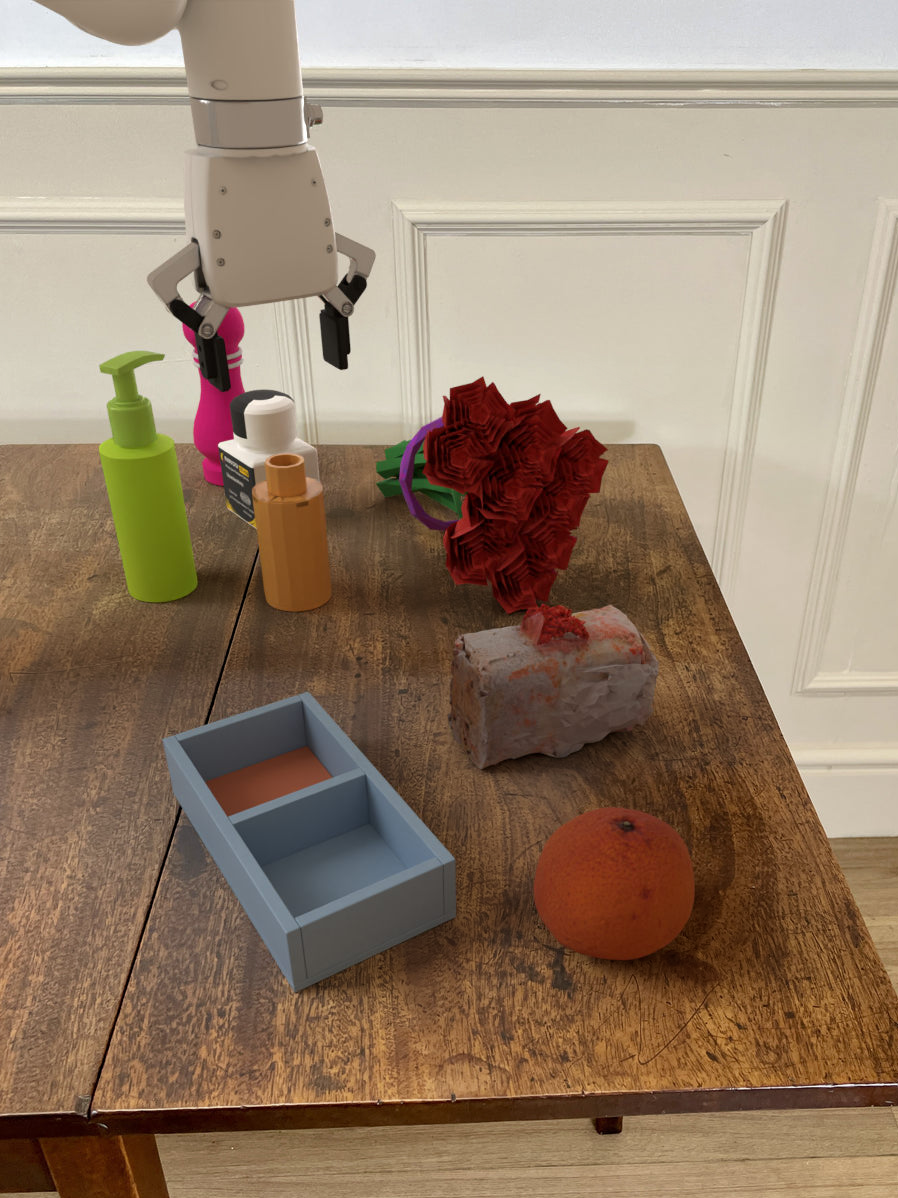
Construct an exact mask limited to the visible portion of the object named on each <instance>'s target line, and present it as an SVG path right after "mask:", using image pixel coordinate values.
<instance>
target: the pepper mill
mask: <svg viewBox="0 0 898 1198" xmlns="http://www.w3.org/2000/svg"><path fill="white" fill-rule="evenodd" d="M196 301H197V300H195V301H193V302H191V303H190V304H188V305H189V306H190V307H191V308H193V306H194V305H195V303H196ZM181 325H182V326H181V328H182V332H183V336H184V338H185V340H186V341H187V342H188V343H189V344H190V345H191V346H192V347H193V349H192V350H191V352H190V353H191V356H192V359H193V360H192V365H193V366H194V367H196V368H197V370H198V375H199V383H200V384H199V385H200V394H199V402H198V406H197V409H196V412H195V413H196V414H195V417H194V420H193V429H192V435H193V444H194V446H195V449H196V450H198V452H199V453H200V454H201V455H203V457H204V459H202V462H201V465H202V472H203V477H204V479H205V481H206V482H208V483H210V484H211V485H215V486H218V487H219V486H220V487H224V484H223V477H222V470H221V463H220V456H219V449H218V444H219V443H220V442H224V441H228V440H233V439H234V434H233V427H232V419H231V412H230V403H231V401H232V400H233V399H234V398H235V397H236V396H238V395H241V394H243V393H245V392H246V390H245V387H244V383H243V381H242V372H241V365H243V363H244V361H245V359H244V357H243V348H242V347H241V346H240V343H241V341H242V340H243V338H244V337H245V331H246V330H245V328H246V327H245V323H244V318H243V315H242V312H241V311H240V310H239V309H238V307H234V308H232V307H230V309H229V311H228V312H227V314H226V316H225V318H224V319H223V321H222V323H221V325H220V326H219V328H218V330H217V332H218V335H219V336H221V337H222V338H223V339H224V341H225V347H226V354H227V361H228V368H229V375H230V382H231V389H229V391H226V392H221V391H219V390H218V389H217V388H216V387H214V386H213V385H212V384H210V383H209V381H208V379H207V380H206V379H205V378H204V377H203V376H202V374H201V371H200V365H199V359H198V353H197V347H196V340H195V334H194V331H193V330H191V329H190V328H189V327H187V326H186V325H185V324H183V323H182V322H181Z"/></svg>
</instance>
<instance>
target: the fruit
mask: <svg viewBox="0 0 898 1198" xmlns="http://www.w3.org/2000/svg"><path fill="white" fill-rule="evenodd" d="M695 886H696V884H695V875H694V867H693V862H692V858H691V856H690V852H689V849H688V847H687V845H686V843H685V841H684V839H683V838H682V836H681V835H680V834H679V833H678V832H677V830H675V829H674V828H673V827H672V826H671V825H670V824H669V823H668V822H666V821H664V820H662V819H661V818H658V817H656V816H654V815H652V814H649V813H647V812H645V811H642V810H638V809H631V808H623V807H616V806H607V807H599V808H597V809H593V810H589V811H587V812H583V813H581V814H579V815H576V816H575V817H574V818H572V819H571V820H568V821H567V822H565V823H564V824H562V825H561V826H560V827H558V828H557V829H556V830H555V831H554V832H553V833H552V834H551V835H550V837H549V838H548V840H547V841H546V842H545V843H544V846H543V849H542V850H541V853H540V855H539V858H538V862H537V866H536V869H535V876H534V881H533V891H532V892H533V898H534V905H535V909H536V911H537V913H538V916H539V918H540V919H541V922H542V923H543V924H544V925H545V927H546V928H547V929H548V931H549V933H551V935H552V936H553V938H554V939H555V940H556V941H557V942H558V943H559V944H560V945H561V946H563V947H565V948H567V949H569V950H571V951H574V952H576V953H578V954H579V955H580V954H581V955H584V956H588V957H592V958H595V959H603V960H610V961H611V960H614V961H615V960H616V961H631V960H637V959H640V958H644V957H646V956H649V955H652V954H654V953H656V952H659V951H660V950H661V949H663V948H665V947H667V946H668V945H670V944H671V943H672V942H673V941H674V940H675V939H676V938H677V937H678V936H679V934H680V933H681V932H682V930H683V929H684V928H685V926H686V924H687V922H688V920H689V919H690V917H691V914H692V912H693V907H694V902H695V897H696V892H695V891H696V887H695Z"/></svg>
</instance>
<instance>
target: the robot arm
mask: <svg viewBox="0 0 898 1198" xmlns="http://www.w3.org/2000/svg"><path fill="white" fill-rule="evenodd" d="M32 1H33V2H35V3H36V4H38V5H40V6H43V7H44V8H46V9H48V10H49V11H53V12H54V13H56V14H57V15H59V16H61V17H63V18H64V19H65V20H67V22H69V23H70V24H72V26H74V27H76V28H77V29H79V30H80V31H82V32H83V33H85V34H88V35H90V36H92V37H96V38H97V39H101V40H104V41H107V42H109V43H112V44H116V45H121V46H125V47H126V46H127V47H140V46H146V45H149V44H153V43H155V42H157V41H160V40H161V39H163V38H164V37H166V36H168V34H169V33H170V32H172V31H178V33H179V36H180V41H181V49H182V55H183V56H182V57H183V62H184V63H183V64H184V70H185V77H186V82H187V83H186V84H187V90H188V96H189V103H190V110H191V111H190V112H191V117H192V125H193V131H194V138H195V146H196V148H193V149H187V150H185V151H184V157H183V158H184V159H183V208H184V225H185V241H186V246H185V247H183V248H181V250H179V251H178V252H176V253H175V254H174V255H172V256H171V257H169V259H167V260H166V261H165V262H163V263H161V264H160V265H159V266H158V267H156V268H154V269H153V270H152V271H151V272H150V273H148V275H147V277H146V282H147V285H148V286H149V287H150V289H151V290H152V291H153V292H154V294H155V295H156V297H157V298H158V300H159V301H160V302H161V304H162V305H163V306H164V308H165V310H166V312H168V313H169V314H171V315H172V316H173V317H174V318H176V319H177V320H178V321H180V322H181V324H182V323H183V324H185V325H186V326H187V327H189V328H190V329H191V330H193V331H194V334H195V340H196V347H197V353H198V359H199V365H200V371H201V374H202V376H203V377H204V378H205V379H206V380H207V379H208V381H209V383H210V384H212V385H213V386H214V387H216V388H217V389H218V390H219V391H221V392H226V391H229V389H231V382H230V375H229V368H228V361H227V354H226V347H225V341H224V339H223V338H222V337H221V336H219V335H218V332H217V330H218V328H219V326H220V325H221V323H222V321H223V319H224V318H225V316H226V314H227V312H228V311H229V309H230V307H232V308H234V307H236V308H244V307H252V306H259V305H266V304H272V303H280V302H287V301H295V300H300V299H307V298H313V297H317V299H318V300H319V301H320V302H321V303H322V304H323V305H324V306H323V307H324V308H323V309H320V312H319V314H318V319H319V328H320V338H321V339H320V340H321V351H322V358H323V361H324V362H326V363H328V364H329V365H331V366H333V367H335V369H337V370H340V371H346V370H348V369H349V359H348V358H349V357H348V355H350V354H351V351H352V349H351V335H350V321H349V317H351V316H352V315H353V314H354V312H355V305H356V304H357V303H358V301H359V299H360V298H361V296H362V295H363V293H364V292H365V291H366V289H367V287H368V281H367V280H368V279H369V277H370V275H371V272H372V268H373V266H374V264H375V260H376V257H377V255H376V252H375V250H374V249H372V248H370V247H368V246H366V245H363V244H361V243H360V242H357V241H355V240H353V239H351V238H349V237H347V236H344V235H342V234H340V233H338V232H336V231H335V225H334V218H333V212H332V207H331V201H330V197H329V192H328V188H327V183H326V179H325V175H324V172H323V168H322V164H321V160H320V157H319V153H318V151H317V148H316V147H315V146H313V145H311V144H308V142H309V141H308V140H310V139H311V136H310V129H312V128H313V127H316V126H317V127H319V126H322V125H323V123H324V113H323V109H322V107H321V105H320V104H318V103H317V104H312V103H310V102H307V101H308V100H307V96H305V95H304V87H303V76H302V75H303V74H302V64H301V63H302V62H301V54H300V42H299V31H298V21H297V9H296V0H32ZM338 253H339V254H341V255H343V256H345V257H347V258H348V259H349V266H348V272H346V273H345V275H344V276H343V278H342V279H341V280H340V282H339V283H338V281H339V258H338ZM188 276H190V279H191V283H192V287H193V288H194V290H195V291H196V292H197V293H198V294H199V296H198V297H197V299H196V300H195V301H196V303H195V305H194V306H193V308H191V307H190V306H189V305H190V304H188V303H187V302H185V301H184V299H183V297H182V296H181V294H180V293H179V291H178V284H179V283H181V281H182V280H184V279H185V278H186V277H188Z"/></svg>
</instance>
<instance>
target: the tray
mask: <svg viewBox="0 0 898 1198" xmlns="http://www.w3.org/2000/svg"><path fill="white" fill-rule="evenodd" d="M161 741H162V744H163V749H164V755H165V758H166V759H165V760H166V765H167V768H168V773H169V778H170V785H171V786H172V792H173V796H174V797H175V799H176V800H177V802H178V804H179V805H180V807H181V809H182V810H183V812H184V814H185V815H186V817H187V818H188V819H189V822H190V823H191V825H192V826H193V828H194V830H195V831H196V833H197V835H198V836H199V838H200V840H201V841H202V843H203V845H204V846H205V848H206V850H207V851H208V853H209V854H210V856H211V858H212V859H213V861H214V863H215V864H216V866H217V868H218V870H219V871H220V873H221V874H222V876H223V877H224V879H225V881H226V882H227V884H228V886H229V888H230V889H231V891H232V893H233V894H234V895H235V897H236V899H237V901H238V902H239V904H240V905H241V907H242V909H243V910H244V912H245V913H246V915H247V917H248V919H249V920H250V922H251V923H252V926H253V927H254V928H255V930H256V932H257V933H258V935H259V937H260V938H261V940H262V942H263V943H264V945H265V946H266V948H267V951H269V953H270V955H271V956H272V958H273V960H274V961H275V963H276V965H277V966H278V968H279V969H280V971H281V973H282V974H283V976H284V978H285V979H286V980H287V983H288V985H289V986H290V988H291V989H292V991H293V993H297V992H300V991H301V990H304V989H306V988H308V987H310V986H312V985H314V984H317V983H319V982H321V981H323V980H325V979H327V978H329V977H332V976H334V975H336V974H338V973H341V972H342V971H345V970H346V969H348V968H349V969H350V968H351V967H353V966H355V965H357V964H359V963H362V962H363V961H366V960H367V959H370V958H372V957H375V956H376V955H378V954H380V953H382V952H385V951H387V950H389V949H391V948H393V947H395V946H397V945H400V944H402V943H404V942H406V941H408V940H410V939H413V938H414V937H416V936H419V935H421V934H423V933H425V932H427V931H429V930H432V929H433V928H436V927H439V925H442V924H444V923H446V922H448V921H451V920H452V919H455V918H457V880H456V879H457V877H456V873H457V872H456V858H455V857H454V856H453V855H452V853H451V852H450V851H449V850H448V849H447V848H446V847H445V845H444V844H443V843H442V842H441V841H440V840H439V839H438V838H437V836H436V835H435V834H434V833H433V832H432V831H431V830H430V828H429V827H428V826H427V825H426V824H425V823H424V821H423V820H422V819H421V818H420V816H418V815H417V814H416V812H415V811H414V810H413V809H412V808H411V807H410V805H409V804H407V802H406V801H405V799H403V797H402V796H401V795H400V794H399V793H398V792H397V790H396V789H395V788H394V787H393V786H392V785H391V784H390V783H389V782H388V780H387V779H386V778H385V777H384V776H383V774H381V772H380V771H379V770H378V769H377V768H376V767H375V766H374V764H373V763H372V762H371V761H370V760H369V759H368V757H366V755H365V754H364V753H363V752H362V751H361V749H359V748H358V746H357V745H356V744H355V743H354V741H352V740H351V738H350V737H349V736H348V734H347V733H346V732H344V730H343V729H342V728H341V727H340V726H339V725H338V724H337V722H336V721H335V720H334V719H333V718H332V716H331V715H330V714H329V713H328V712H327V711H326V710H325V709H324V708H323V707H322V705H321V704H320V703H319V702H318V700H317V699H316V698H315V697H314V696H313V695H312V694H311V692H309V691H305V692H302V693H299V694H297V695H293V696H290V697H286V698H284V699H281V700H277V701H275V702H272V703H269V704H265V705H262V706H259V707H255V708H253V709H250V710H247V711H244V712H241V713H238V714H235V715H231V716H229V717H226V718H222V719H218V720H216V721H212V722H210V723H207V724H204V725H201V726H198V727H195V728H191V729H188V730H185V731H183V732H179V733H176V734H173V735H170V736H167V737H164V738H162V740H161Z"/></svg>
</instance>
